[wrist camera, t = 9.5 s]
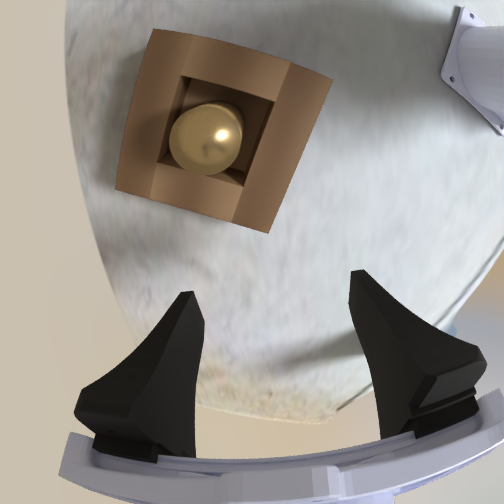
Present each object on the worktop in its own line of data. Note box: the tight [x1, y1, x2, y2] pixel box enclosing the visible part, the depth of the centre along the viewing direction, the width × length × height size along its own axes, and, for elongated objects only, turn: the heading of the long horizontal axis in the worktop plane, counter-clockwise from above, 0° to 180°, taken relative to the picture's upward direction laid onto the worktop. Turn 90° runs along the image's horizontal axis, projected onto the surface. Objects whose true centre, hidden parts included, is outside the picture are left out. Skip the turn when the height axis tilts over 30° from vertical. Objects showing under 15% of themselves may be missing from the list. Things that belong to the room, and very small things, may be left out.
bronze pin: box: [169, 100, 244, 175], centre depth 14 cm, size 3×3×6 cm
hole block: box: [115, 29, 333, 234], centre depth 16 cm, size 10×10×4 cm
